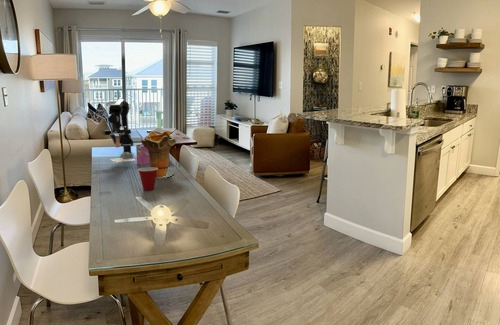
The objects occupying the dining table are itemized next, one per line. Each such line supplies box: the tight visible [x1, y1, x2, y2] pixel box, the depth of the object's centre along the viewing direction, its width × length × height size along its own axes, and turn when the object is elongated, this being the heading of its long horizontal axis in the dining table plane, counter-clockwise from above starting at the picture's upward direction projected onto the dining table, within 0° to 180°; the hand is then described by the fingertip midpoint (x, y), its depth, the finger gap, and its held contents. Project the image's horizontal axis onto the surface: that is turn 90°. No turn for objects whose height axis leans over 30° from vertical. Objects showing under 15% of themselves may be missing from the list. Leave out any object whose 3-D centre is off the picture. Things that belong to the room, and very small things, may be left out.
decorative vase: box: [140, 130, 177, 180], centre depth 246 cm, size 21×23×28 cm
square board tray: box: [108, 152, 137, 164], centre depth 290 cm, size 16×16×4 cm
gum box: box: [135, 143, 171, 166], centre depth 285 cm, size 24×8×14 cm, turn 134°
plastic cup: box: [137, 166, 158, 192], centre depth 217 cm, size 11×11×12 cm
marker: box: [114, 135, 121, 148], centre depth 283 cm, size 3×3×8 cm
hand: (117, 144), depth 283 cm, fingers closed on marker, 3 cm apart
